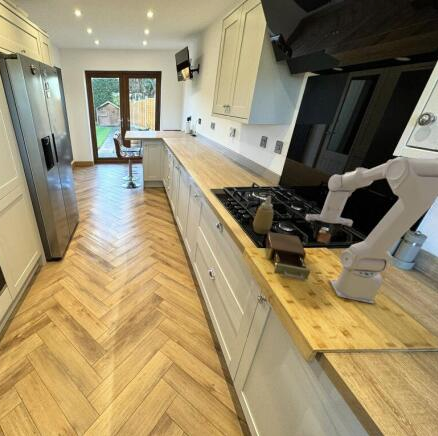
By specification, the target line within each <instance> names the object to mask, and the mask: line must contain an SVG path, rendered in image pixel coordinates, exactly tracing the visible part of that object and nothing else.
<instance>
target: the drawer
mask: <svg viewBox="0 0 438 436" xmlns="http://www.w3.org/2000/svg"><path fill="white" fill-rule="evenodd" d="M273 260H274V261H273V263H274V269H273V273H274V274H276V275H280V276H283V278H284V279H285V278H286V279H290V280H295V281H300V282H306V281H307V280H308V279H309V276H310V274H311V269H310V268H307V266H306V263H305V260H304V261H303V258H302V256H301V255H299V254H293V253H287V252H281V251H276V250H274V252H273Z"/></svg>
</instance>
